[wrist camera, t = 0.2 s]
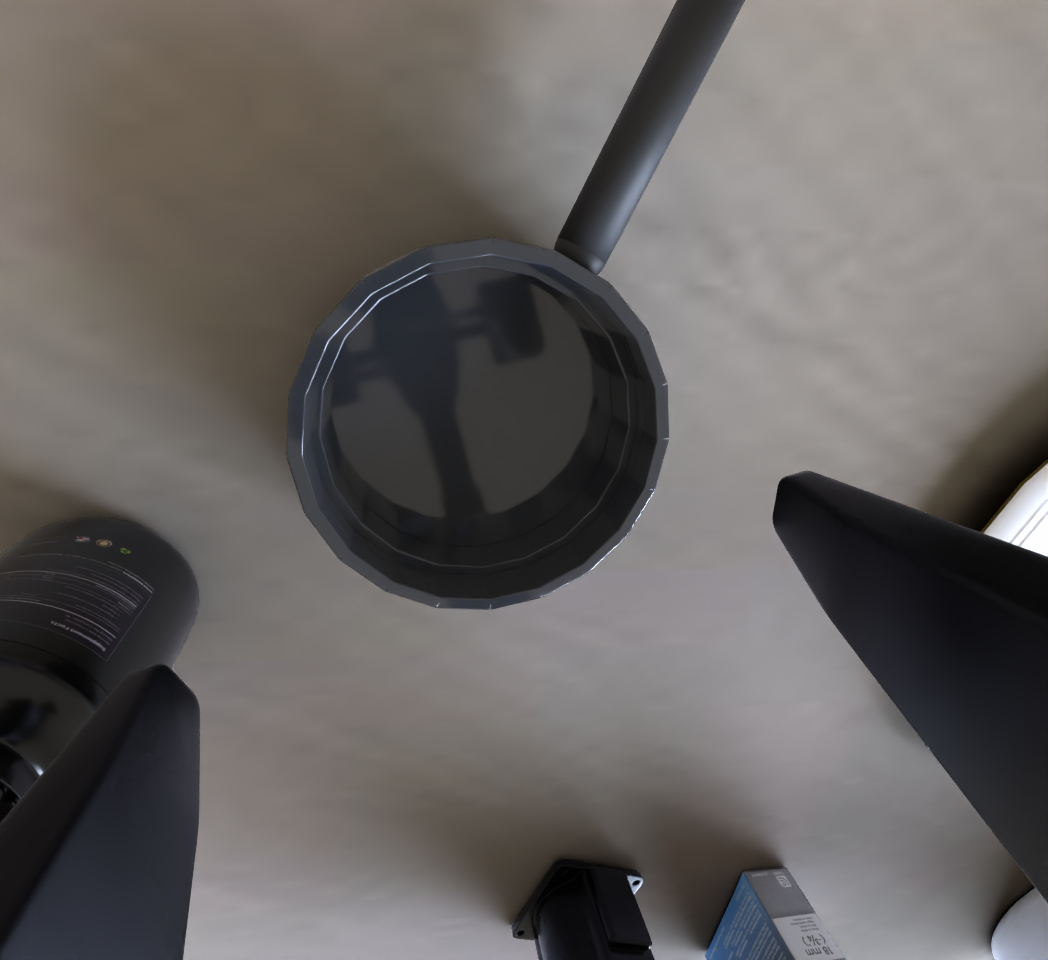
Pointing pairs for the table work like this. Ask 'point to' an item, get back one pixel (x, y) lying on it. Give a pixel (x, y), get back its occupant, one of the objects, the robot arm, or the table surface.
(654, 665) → the table surface
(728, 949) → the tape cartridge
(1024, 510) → the plate
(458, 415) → the pan
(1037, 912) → the cylinder vase
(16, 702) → the supplement bottle
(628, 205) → the pan handle
